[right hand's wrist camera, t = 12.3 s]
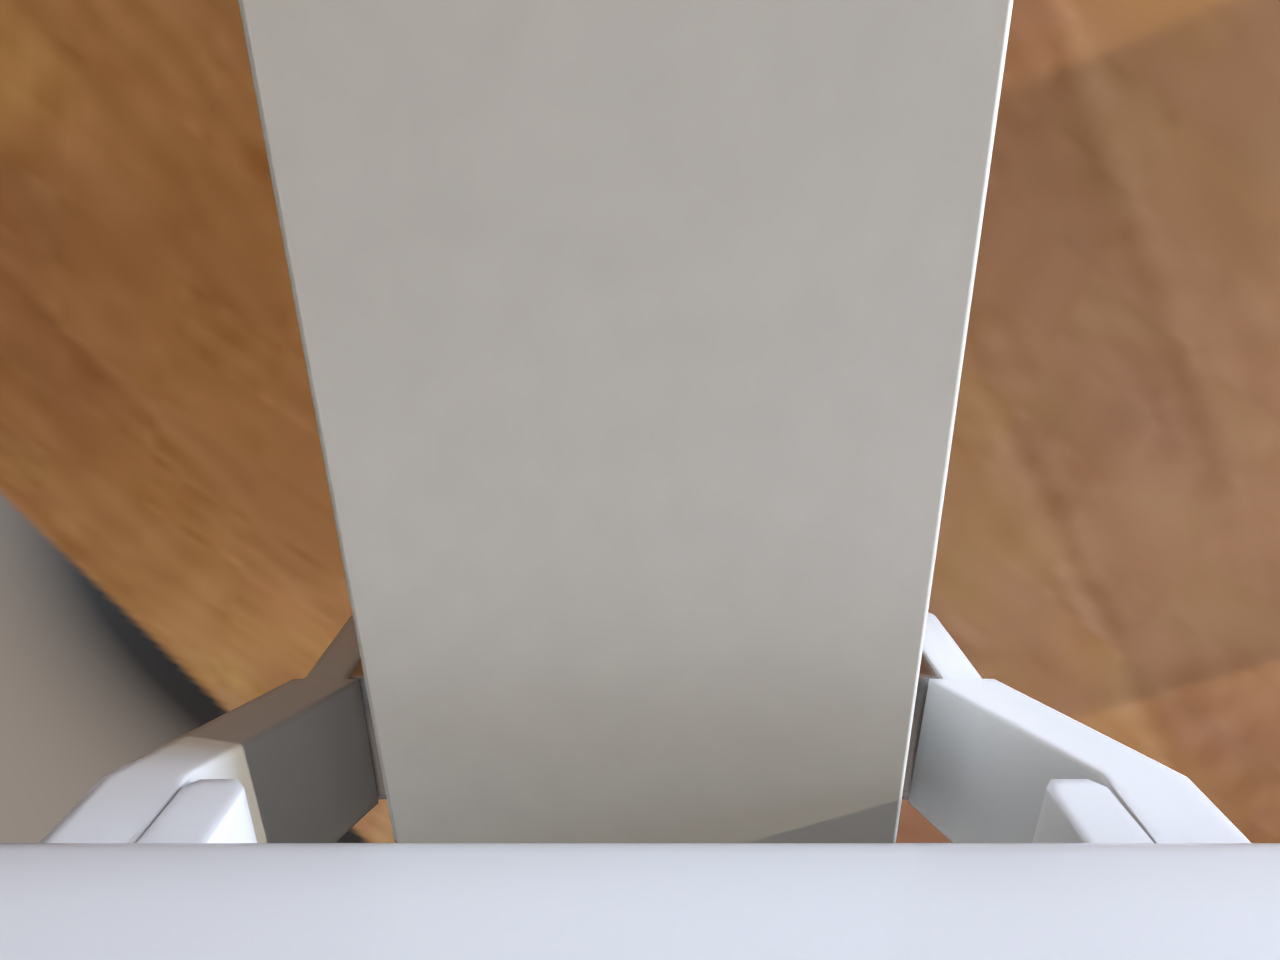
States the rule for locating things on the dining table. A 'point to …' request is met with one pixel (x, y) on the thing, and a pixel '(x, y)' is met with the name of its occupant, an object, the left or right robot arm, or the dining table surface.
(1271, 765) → the dining table surface
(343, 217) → the post
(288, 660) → the dining table surface
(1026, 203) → the dining table surface
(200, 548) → the dining table surface
